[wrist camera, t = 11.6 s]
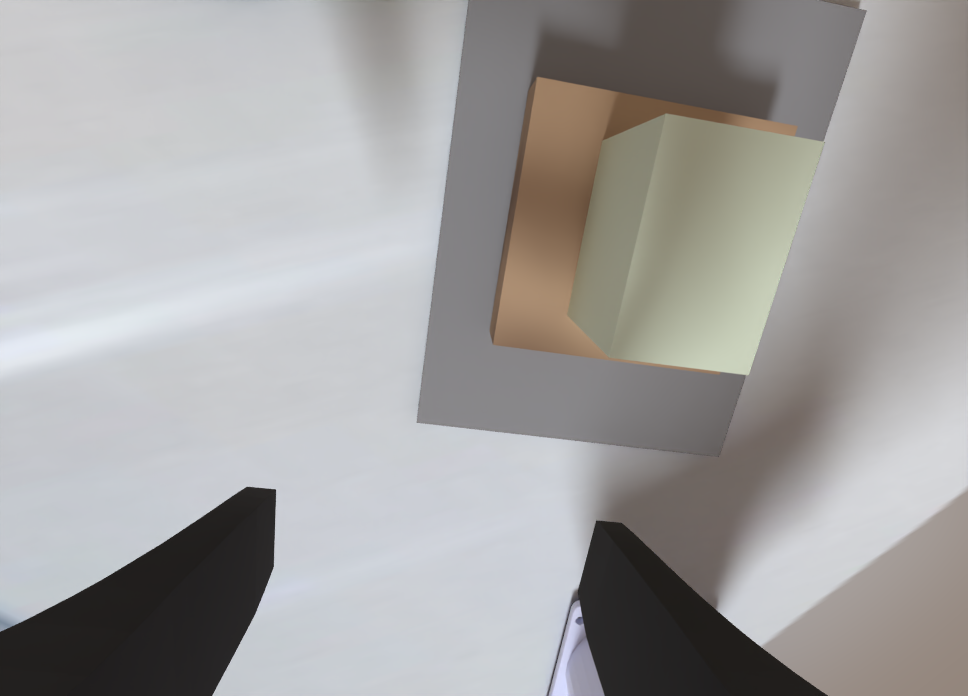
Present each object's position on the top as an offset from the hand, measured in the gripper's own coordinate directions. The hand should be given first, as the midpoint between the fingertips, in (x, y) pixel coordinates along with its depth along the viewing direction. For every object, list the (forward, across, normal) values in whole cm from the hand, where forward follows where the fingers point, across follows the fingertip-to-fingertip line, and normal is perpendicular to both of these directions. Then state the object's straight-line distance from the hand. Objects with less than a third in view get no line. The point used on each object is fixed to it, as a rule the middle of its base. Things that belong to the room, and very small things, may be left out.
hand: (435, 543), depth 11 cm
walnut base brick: (+10, -6, -7) cm, 14 cm away
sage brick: (+8, -6, -7) cm, 12 cm away
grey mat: (+10, -6, -7) cm, 14 cm away
